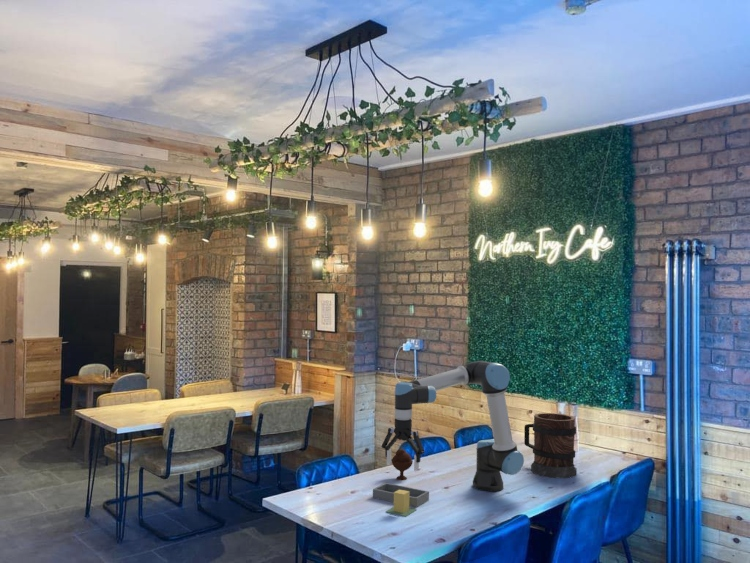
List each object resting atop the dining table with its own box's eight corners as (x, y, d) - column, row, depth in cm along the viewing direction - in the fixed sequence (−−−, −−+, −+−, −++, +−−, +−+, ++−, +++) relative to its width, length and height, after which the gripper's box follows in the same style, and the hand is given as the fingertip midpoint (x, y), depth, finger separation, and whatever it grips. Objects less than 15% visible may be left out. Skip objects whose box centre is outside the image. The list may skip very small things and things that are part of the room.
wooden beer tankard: (562, 480, 322) (563, 423, 323) (513, 468, 343) (514, 414, 344) (584, 472, 339) (584, 417, 339) (536, 461, 360) (537, 409, 360)
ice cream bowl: (387, 479, 317) (388, 450, 317) (397, 474, 327) (397, 445, 327) (406, 483, 312) (407, 453, 312) (415, 477, 322) (416, 448, 322)
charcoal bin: (428, 501, 285) (429, 491, 285) (416, 508, 274) (417, 498, 274) (385, 492, 296) (385, 482, 297) (372, 498, 286) (372, 489, 286)
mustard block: (409, 509, 270) (409, 491, 270) (403, 513, 266) (404, 494, 266) (399, 507, 273) (399, 489, 273) (393, 510, 268) (393, 492, 269)
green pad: (416, 511, 271) (416, 509, 271) (405, 517, 262) (405, 516, 262) (396, 506, 276) (396, 504, 276) (385, 513, 268) (385, 511, 268)
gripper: (432, 420, 267) (432, 469, 267) (383, 413, 280) (382, 460, 280) (424, 423, 261) (424, 473, 260) (374, 416, 274) (373, 464, 273)
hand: (402, 467), depth 270 cm, fingers open, 13 cm apart
